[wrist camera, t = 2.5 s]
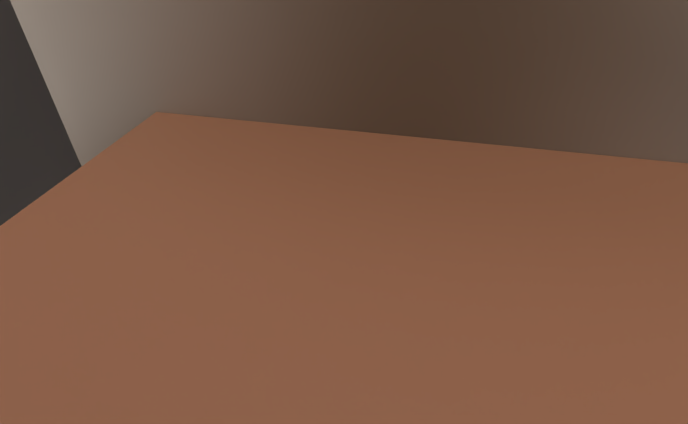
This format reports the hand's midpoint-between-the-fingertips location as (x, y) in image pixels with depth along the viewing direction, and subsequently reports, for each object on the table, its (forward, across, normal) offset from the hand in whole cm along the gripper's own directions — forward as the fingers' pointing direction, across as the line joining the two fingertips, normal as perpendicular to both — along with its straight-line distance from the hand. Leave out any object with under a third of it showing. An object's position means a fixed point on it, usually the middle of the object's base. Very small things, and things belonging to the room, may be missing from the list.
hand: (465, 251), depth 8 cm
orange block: (-2, 0, 0) cm, 2 cm away
